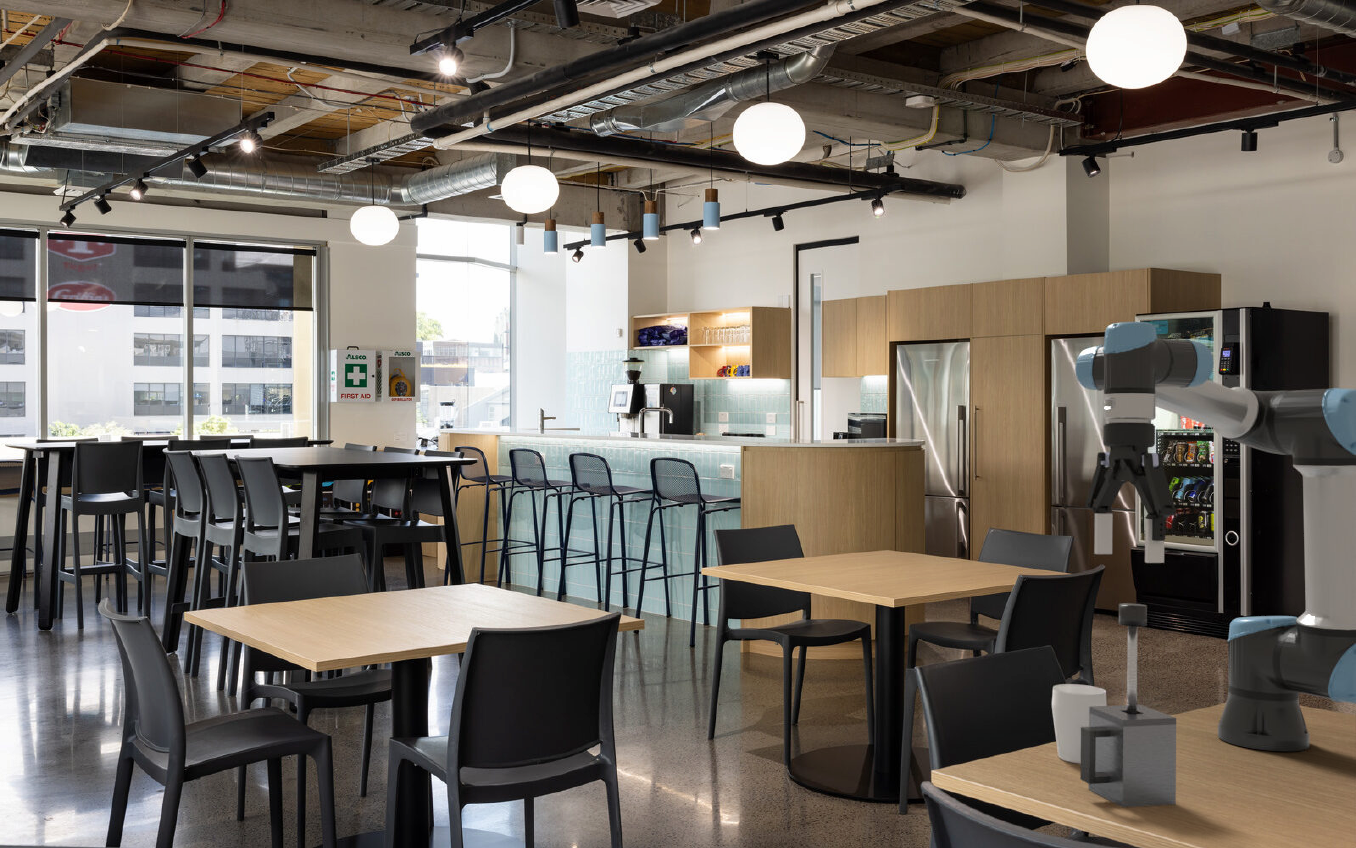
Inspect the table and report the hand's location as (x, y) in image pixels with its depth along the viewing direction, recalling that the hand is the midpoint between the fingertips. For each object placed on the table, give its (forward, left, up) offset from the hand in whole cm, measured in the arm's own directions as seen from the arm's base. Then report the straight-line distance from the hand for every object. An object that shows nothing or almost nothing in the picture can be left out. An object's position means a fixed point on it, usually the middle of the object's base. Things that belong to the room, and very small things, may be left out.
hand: (1127, 558), depth 179 cm
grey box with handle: (+2, +1, -37) cm, 37 cm away
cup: (-4, -20, -37) cm, 42 cm away
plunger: (0, +1, -28) cm, 28 cm away
